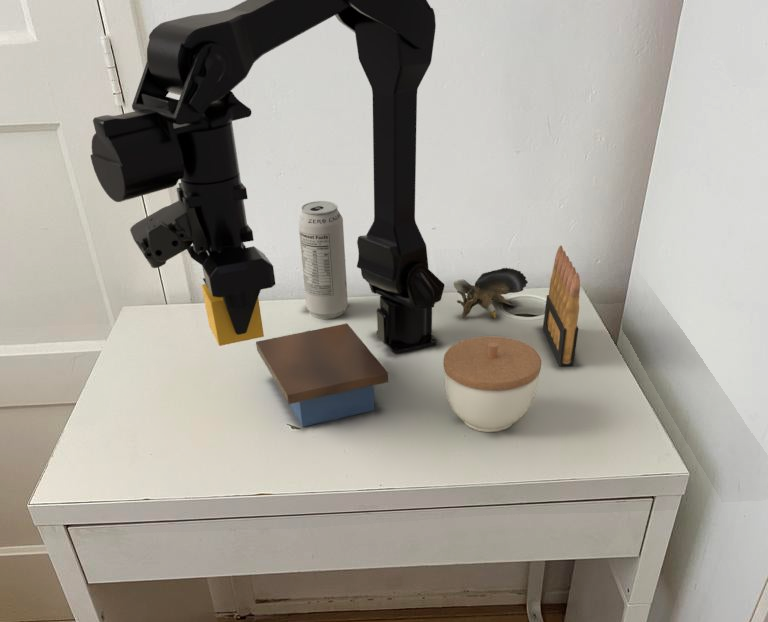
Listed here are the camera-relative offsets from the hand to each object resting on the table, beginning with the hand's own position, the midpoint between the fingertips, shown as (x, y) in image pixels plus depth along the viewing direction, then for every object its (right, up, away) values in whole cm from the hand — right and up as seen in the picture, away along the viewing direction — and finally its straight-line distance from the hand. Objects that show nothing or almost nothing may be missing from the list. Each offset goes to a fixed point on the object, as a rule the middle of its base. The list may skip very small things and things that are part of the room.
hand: (235, 323), depth 86 cm
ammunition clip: (+39, +1, +18) cm, 43 cm away
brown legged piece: (+31, +8, +27) cm, 42 cm away
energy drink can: (+8, +8, +29) cm, 31 cm away
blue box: (+9, -6, +10) cm, 15 cm away
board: (+9, -3, +8) cm, 12 cm away
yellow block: (0, -1, +1) cm, 1 cm away
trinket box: (+28, -10, +5) cm, 31 cm away
